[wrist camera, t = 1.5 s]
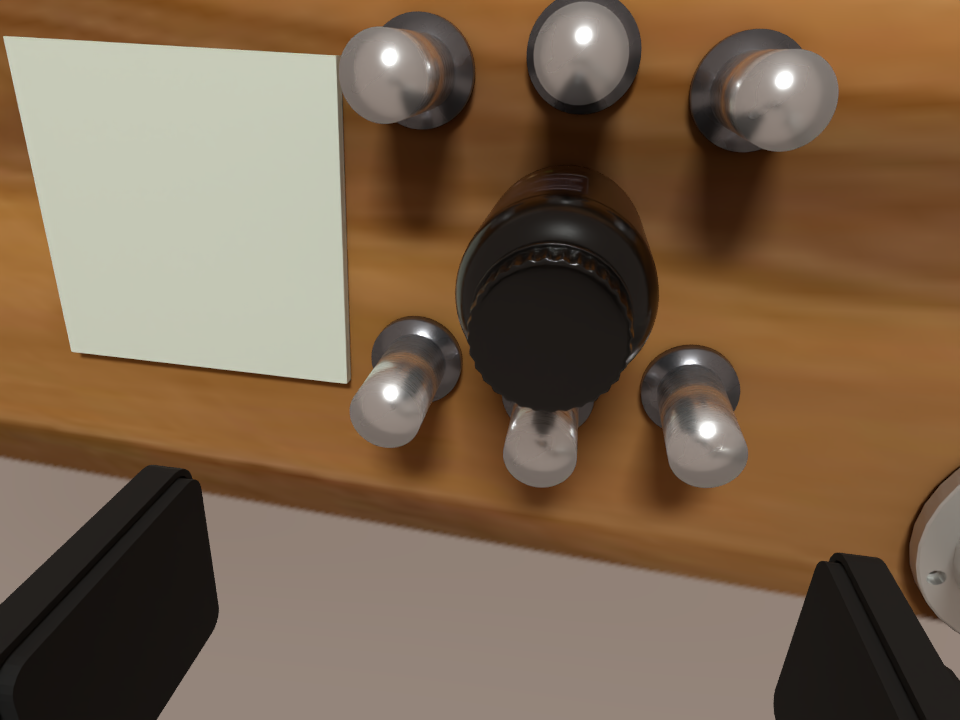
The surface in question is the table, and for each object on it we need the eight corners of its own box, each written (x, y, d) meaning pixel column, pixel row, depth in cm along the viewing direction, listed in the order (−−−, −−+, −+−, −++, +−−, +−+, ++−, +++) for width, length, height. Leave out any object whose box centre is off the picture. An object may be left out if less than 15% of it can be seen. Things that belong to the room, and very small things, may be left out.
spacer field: (827, 2, 25) (892, -12, 20) (723, 451, 33) (748, 529, 28) (369, -19, 27) (313, -37, 22) (375, 409, 35) (336, 474, 30)
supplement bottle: (664, 282, 30) (704, 409, 20) (522, 332, 32) (486, 473, 21) (611, 133, 28) (622, 183, 17) (462, 197, 30) (389, 277, 19)
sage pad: (340, 55, 28) (336, 56, 28) (350, 378, 35) (346, 383, 34) (13, 36, 30) (3, 36, 30) (79, 347, 36) (71, 351, 36)
